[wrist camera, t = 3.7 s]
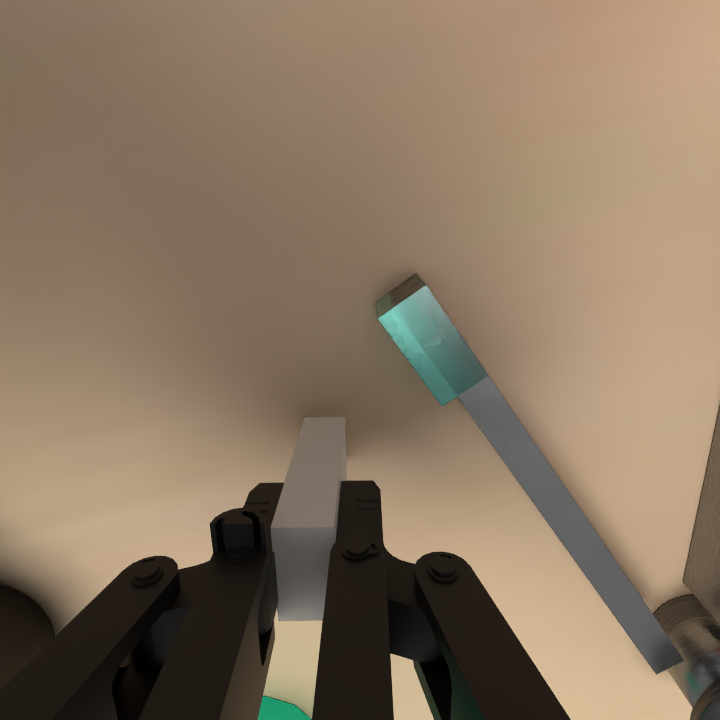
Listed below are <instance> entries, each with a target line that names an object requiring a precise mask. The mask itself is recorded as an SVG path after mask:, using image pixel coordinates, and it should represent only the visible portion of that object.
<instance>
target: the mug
mask: <svg viewBox="0 0 720 720" xmlns="http://www.w3.org/2000/svg"><path fill="white" fill-rule="evenodd" d="M54 637H55V635H54V630H53V626H52V624H51V622H50V620H49V618H48V616H47V615H46V613H45V612H44V611H43V610H42V608H41V607H40V606H39V605H38V604H36V603H35V602H34V601H33V600H32V599H31V598H29V597H28V596H26V595H24V594H23V593H21V592H19V591H17V590H15V589H12V588H10V587H7V586H4V585H0V690H1V689H2V688H3V687H4V686H5V685H6V684H7V683H8V682H9V681H10V680H11V679H12V678H13V677H14V676H15V675H17V674H18V673H19V672H20V671H21V670H22V669H23V668H24V667H25V666H26V665H27V664H28V663H29V662H30V661H31V660H32V659H33V658H34V657H35V656H36V655H37V654H38V653H39V652H40V651H41V650H42V649H43V648H44V647H45V646H46V645H47V644H48V643H49V642H50V641H51V640H52V639H53V638H54Z"/></svg>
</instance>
